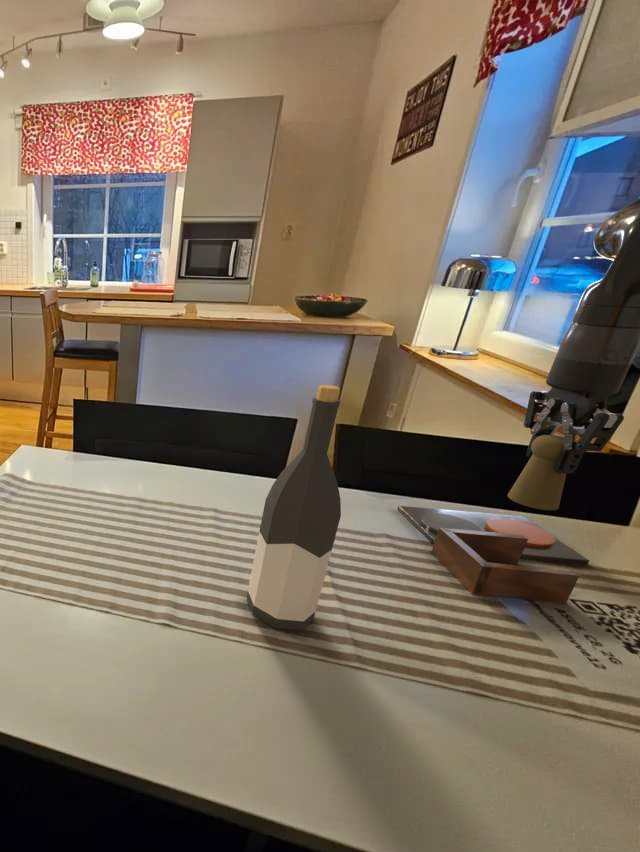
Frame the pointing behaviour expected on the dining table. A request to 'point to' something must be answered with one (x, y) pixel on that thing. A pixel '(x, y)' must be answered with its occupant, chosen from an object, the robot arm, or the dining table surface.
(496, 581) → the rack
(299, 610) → the wine bottle
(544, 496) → the olive knobbed cone
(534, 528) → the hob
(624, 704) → the dining table surface
